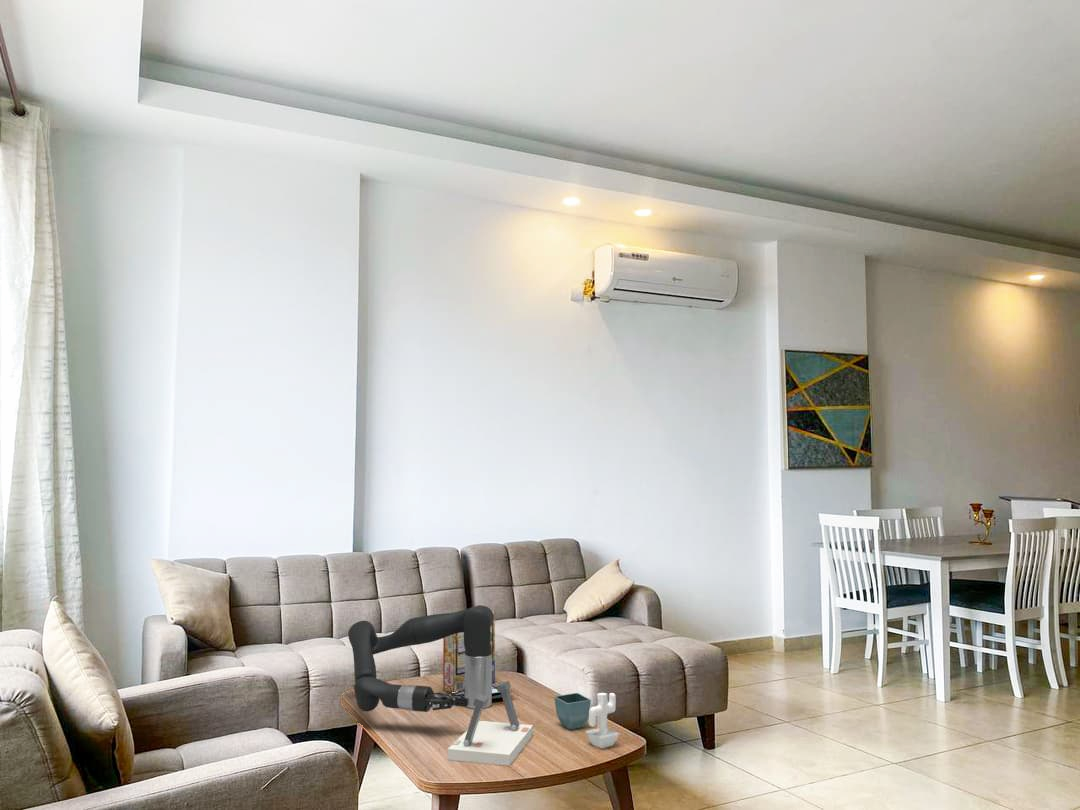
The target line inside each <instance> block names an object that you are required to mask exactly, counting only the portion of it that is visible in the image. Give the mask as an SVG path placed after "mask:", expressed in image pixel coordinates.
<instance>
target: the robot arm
mask: <svg viewBox="0 0 1080 810" xmlns="http://www.w3.org/2000/svg"><path fill="white" fill-rule="evenodd" d="M492 611H493V610H492V609H491V608H489V607H488V606H486V605H480V604H479V605H475V606H472V607H469V608H465V609H462V610H459V611H455V612H448V613H446V612H445V613H436V614H429V615H428V614H427V615H422V616H415V617H411V618H409V619H407V620H406V621H405V622H404V623H403V624H401V625H400V626H399V627H398V628H397V629H396V630H394V632H392V633H390V634H387V635H385V636H378V635H377V633H376V629H375V627H374V626H373V624H372V623H371V622H369V621H368V620H360V621H357V622H355V623H354V624H352V625H351V626H350V627H349V629H348V633H347V635H348V640H349V643H350V645H351V648H352V654H353V668H354V671H353V672H354V673H353V674H354V681H355V682H354V685H353V690H354V695H355V700H356V705H357V707H358V708H359V710H360V711H363V712H367V713H368V712H372V711H374V710H375V709H376V708H377V707H378V705H379V703H380V702H381V703H382V705H383V706H384V707H385V708H389V709H397V710H398V709H399V710H405V711H410V712H411V711H412V712H419V713H420V712H422V713H428V712H430V710H431V709H432V710H433V711H440V710H447V709H450V710H451V709H452V708H455V707H464V708H469V709H473V710H474V709H475V705H473V703H474V700H475V698H476V697H477V696H478V695H479V694H482V695H484V696H486V697H489V699H488V702H487V704H486V705H485V706H484V707H483V709H487V708H489V707H491V706H492V701H493V700H492V695H493V694H492V692H493V691H492V686H493V684H492V646H491V642H490V627H491V626H492V624H493V621H494V614H493V612H492ZM462 632H464V647H465V691H464V697H458V693H452V692H450V691H444V692H442V691H437V692H434V691H433V688H432V687H431V686H428V685H427V686H426V685H417V684H416V685H414V684H406V685H405V684H395V683H394V684H392V683H390V682H387V681H384V680H381V679H380V678H378V677H377V675H378V674H377V667H376V661H375V657H374V655H377V654H381V653H384V652H387V651H390V650H395V649H400V648H405V647H410V646H418V645H424V644H430V643H432V642H436V641H440V640H441V639H443V638H445V637H448V636H450V635H453V634H456V633H462Z"/></svg>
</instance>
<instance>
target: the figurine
mask: <svg viewBox="0 0 1080 810" xmlns="http://www.w3.org/2000/svg"><path fill="white" fill-rule="evenodd" d="M596 696H597V697H596V698H597V705H596V706H592V707H591V706H590V710H589V717H588V725H589V726H590V727H596V723H597V728H594V729H590V730H589V729H588V730H586V731H584V732H585V734H586V736H587V737H588V739H589V741H590V743H591V745H593V746H594V747H597V748H600V749H605V748H610V747H612V746H614V744H615V742H616V741H617V739H618V737H619V735H620V732H617V731H615V730H612V729H610V728H608V714H612V713H615V711H616V707H617V702H616V701H617V698H616V697H617V695H616V694H615V693H614V692H610V693H609V694H608V693H606V692H599V693H597V695H596ZM596 720H597V722H596Z"/></svg>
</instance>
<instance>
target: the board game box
mask: <svg viewBox="0 0 1080 810" xmlns="http://www.w3.org/2000/svg"><path fill="white" fill-rule="evenodd" d="M492 612H493V614H494V621H493V624H492V626H491V627H490V642H491V646H492V685H493V684H496V650H495V649H496V639H495V638H496V633H495V632H496V630H495V627H496V624H495V622H496V621H495V619H496V618H495V617H496V615H495V613H496V611H495V610H492ZM442 639H443V641H442V642H443V644H442V645H443V648H442V649H443V650H442V651H443V654H442V655H443V657H442V660H443V662H442V663H443V664H442V670H443V671H442V672H443V673H442V674H443V675H442V676H443V677H442V678H443V679H442V682H443V683H442V685H443V688H442V691H443V692H445V691H450V692H456V691H461V690H465V647H464V632H462V633H456V634H453V635H450V636H448V637H445V638H442Z"/></svg>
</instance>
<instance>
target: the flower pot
mask: <svg viewBox="0 0 1080 810" xmlns="http://www.w3.org/2000/svg"><path fill="white" fill-rule="evenodd" d="M553 697H554V704H555V705H554V706H555V712H556V715H557V718H558V721H559V722H560V724H561V726H562V727H564V728H566V729H567V730H575V729H580V728H584V727H585V725H586V724H587V722H588V721H589V710H590V708H591V704H592V703H591V702H592V699H590V698H589V697H586V696H584V695H582V694H581V693H579V692H573V693H569V694H568V693H567V694H561V695H556V696H553Z"/></svg>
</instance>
